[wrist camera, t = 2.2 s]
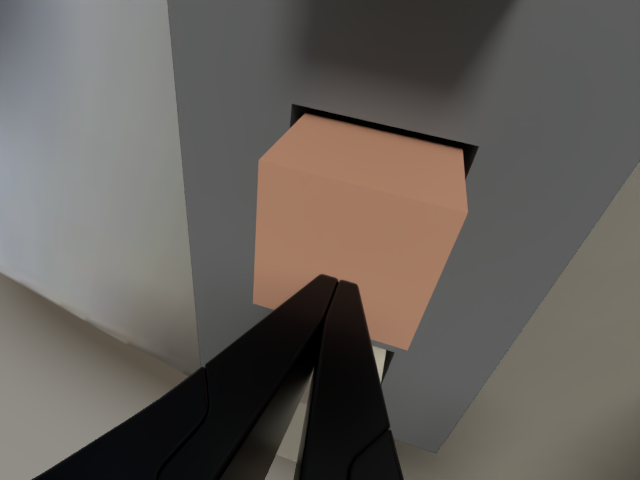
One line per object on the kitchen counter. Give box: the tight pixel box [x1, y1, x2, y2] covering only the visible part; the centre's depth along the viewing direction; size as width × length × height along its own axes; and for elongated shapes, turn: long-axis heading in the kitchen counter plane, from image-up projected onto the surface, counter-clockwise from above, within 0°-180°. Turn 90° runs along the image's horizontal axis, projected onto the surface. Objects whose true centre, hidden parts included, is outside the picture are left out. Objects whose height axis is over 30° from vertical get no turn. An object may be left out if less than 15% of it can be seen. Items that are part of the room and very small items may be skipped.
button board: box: [167, 0, 640, 453], centre depth 12 cm, size 12×24×2 cm, turn 171°
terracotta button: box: [253, 113, 468, 350], centre depth 10 cm, size 4×4×3 cm
